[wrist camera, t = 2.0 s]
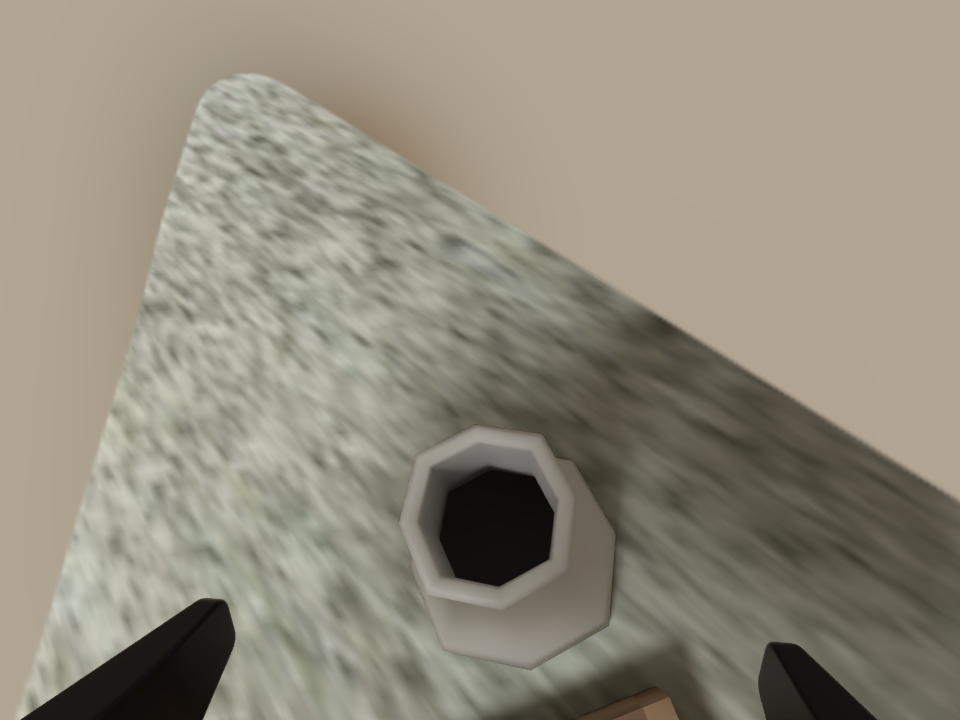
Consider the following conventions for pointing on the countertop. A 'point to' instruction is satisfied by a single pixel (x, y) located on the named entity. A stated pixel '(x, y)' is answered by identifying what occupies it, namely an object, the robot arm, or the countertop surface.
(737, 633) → the countertop surface
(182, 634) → the robot arm
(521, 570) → the flask
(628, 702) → the walnut tray
